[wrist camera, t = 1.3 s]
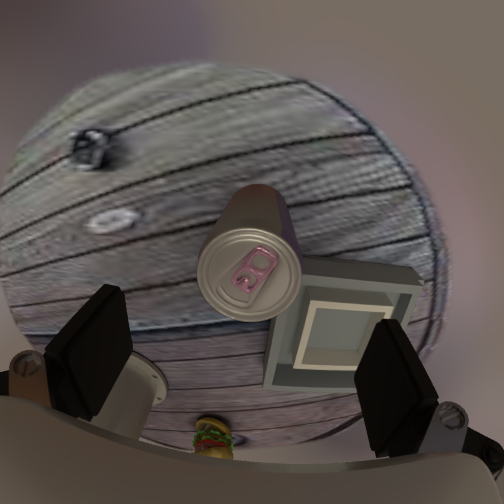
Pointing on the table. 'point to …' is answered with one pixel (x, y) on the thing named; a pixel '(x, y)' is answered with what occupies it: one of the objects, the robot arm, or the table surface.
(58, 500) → the robot arm
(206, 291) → the beverage can
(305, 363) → the box
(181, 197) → the table surface
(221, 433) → the hamburger
